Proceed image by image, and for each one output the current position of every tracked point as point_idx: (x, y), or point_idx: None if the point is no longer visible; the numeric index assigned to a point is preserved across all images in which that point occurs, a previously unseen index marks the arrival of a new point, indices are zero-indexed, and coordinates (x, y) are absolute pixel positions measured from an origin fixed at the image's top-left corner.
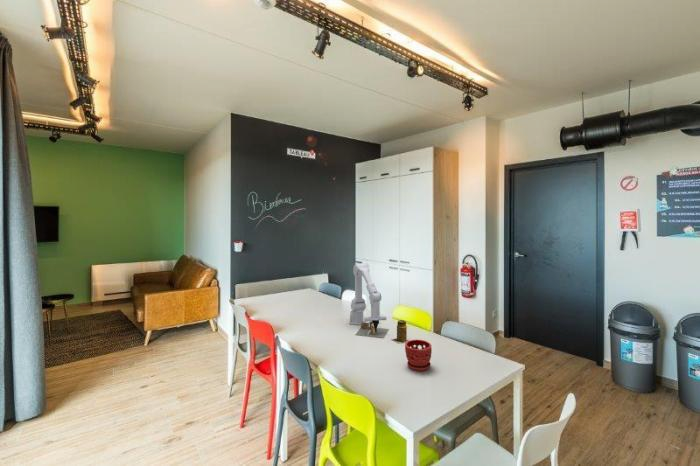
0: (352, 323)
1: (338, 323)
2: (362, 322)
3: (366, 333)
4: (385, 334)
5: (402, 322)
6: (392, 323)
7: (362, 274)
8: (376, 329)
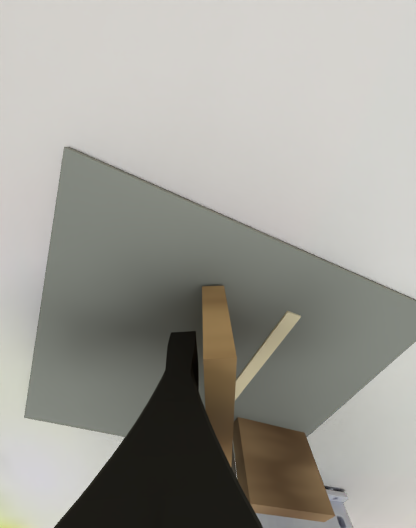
0: (330, 497)
1: (412, 498)
2: (314, 518)
3: (296, 335)
4: (49, 286)
5: None
6: (13, 493)
7: None
8: (169, 358)
